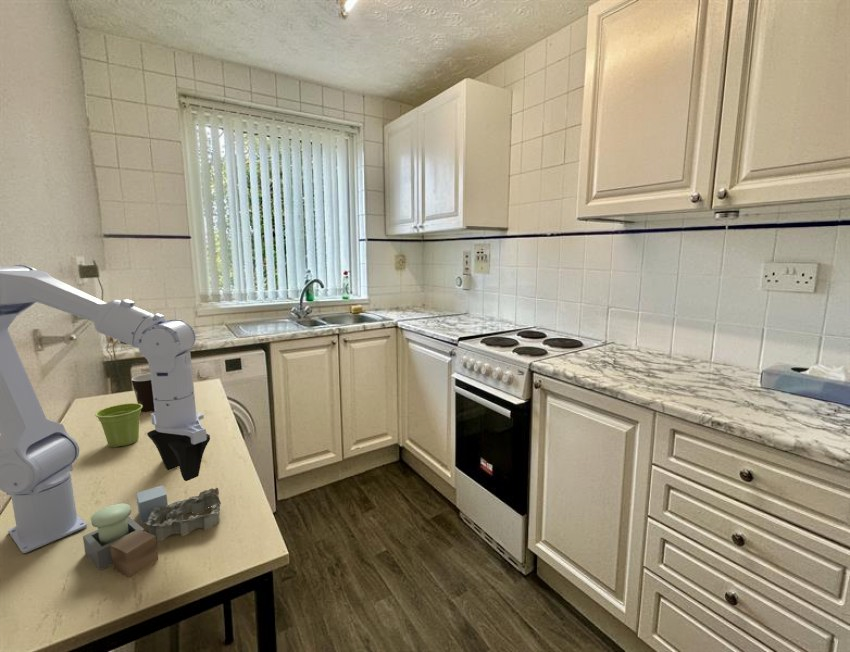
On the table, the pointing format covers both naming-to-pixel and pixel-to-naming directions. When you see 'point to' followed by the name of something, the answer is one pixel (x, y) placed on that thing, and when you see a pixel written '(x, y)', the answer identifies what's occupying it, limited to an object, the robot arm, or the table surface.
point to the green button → (111, 522)
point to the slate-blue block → (150, 501)
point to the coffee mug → (144, 392)
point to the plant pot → (120, 423)
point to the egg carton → (179, 509)
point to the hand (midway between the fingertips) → (182, 472)
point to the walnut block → (134, 553)
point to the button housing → (103, 553)
